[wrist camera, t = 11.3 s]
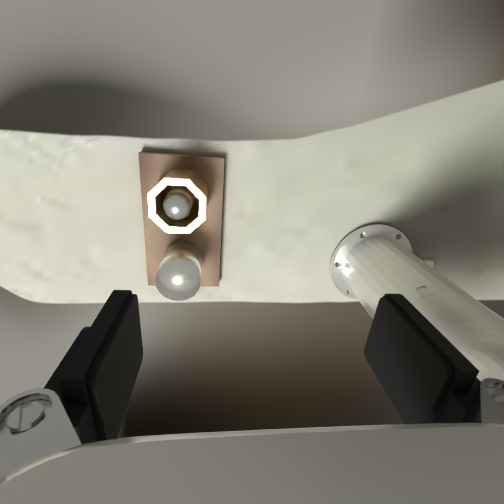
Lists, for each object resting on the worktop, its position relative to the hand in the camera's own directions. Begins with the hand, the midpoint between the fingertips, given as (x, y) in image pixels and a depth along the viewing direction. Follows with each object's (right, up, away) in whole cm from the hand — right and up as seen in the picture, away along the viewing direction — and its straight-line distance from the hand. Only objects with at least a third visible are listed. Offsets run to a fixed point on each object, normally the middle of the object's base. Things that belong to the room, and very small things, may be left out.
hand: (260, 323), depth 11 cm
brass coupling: (-9, +10, +26) cm, 29 cm away
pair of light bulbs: (-9, +6, +28) cm, 30 cm away
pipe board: (-10, +7, +29) cm, 31 cm away
